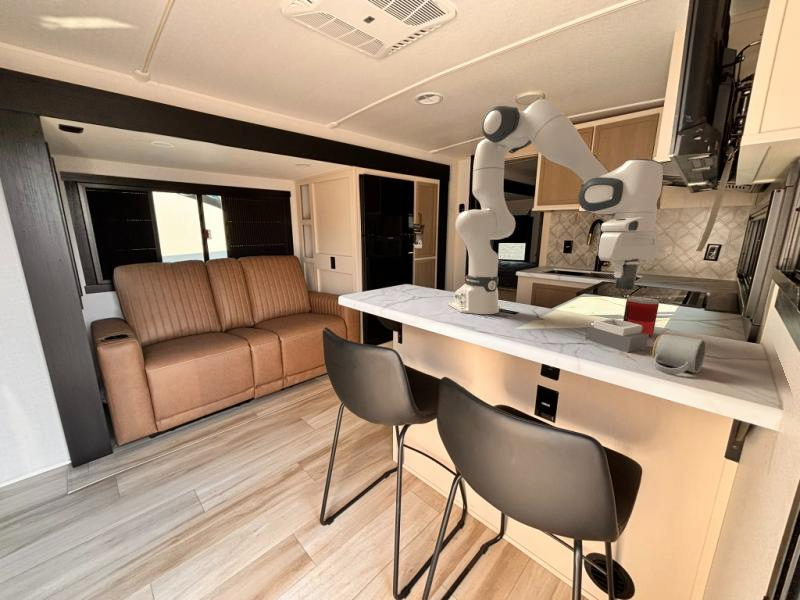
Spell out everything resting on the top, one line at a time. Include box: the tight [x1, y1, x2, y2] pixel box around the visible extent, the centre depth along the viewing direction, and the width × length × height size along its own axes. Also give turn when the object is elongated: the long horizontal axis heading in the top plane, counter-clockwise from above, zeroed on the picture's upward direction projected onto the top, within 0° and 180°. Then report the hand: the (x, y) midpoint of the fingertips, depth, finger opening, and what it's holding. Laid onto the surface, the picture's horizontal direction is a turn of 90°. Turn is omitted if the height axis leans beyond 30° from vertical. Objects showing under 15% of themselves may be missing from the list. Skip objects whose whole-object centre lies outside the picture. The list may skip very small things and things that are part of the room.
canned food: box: [622, 296, 660, 338], centre depth 97 cm, size 8×8×11 cm
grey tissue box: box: [585, 317, 649, 353], centre depth 88 cm, size 12×8×6 cm, turn 24°
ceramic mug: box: [651, 333, 707, 375], centre depth 72 cm, size 11×8×8 cm
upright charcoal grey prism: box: [614, 259, 639, 290], centre depth 84 cm, size 5×5×8 cm
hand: (625, 276), depth 85 cm, fingers closed on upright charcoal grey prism, 4 cm apart
